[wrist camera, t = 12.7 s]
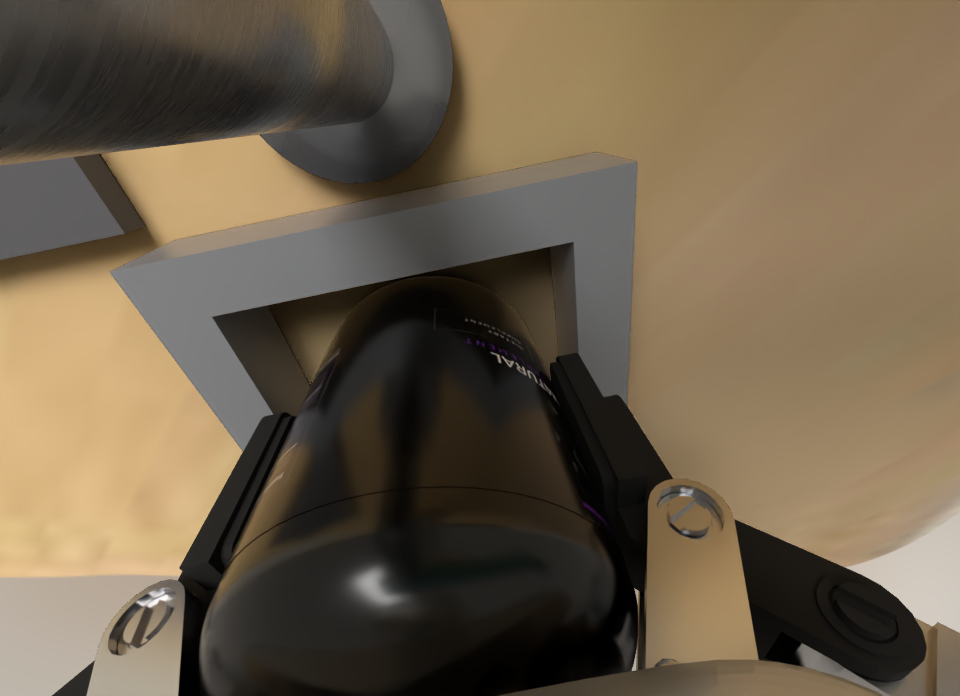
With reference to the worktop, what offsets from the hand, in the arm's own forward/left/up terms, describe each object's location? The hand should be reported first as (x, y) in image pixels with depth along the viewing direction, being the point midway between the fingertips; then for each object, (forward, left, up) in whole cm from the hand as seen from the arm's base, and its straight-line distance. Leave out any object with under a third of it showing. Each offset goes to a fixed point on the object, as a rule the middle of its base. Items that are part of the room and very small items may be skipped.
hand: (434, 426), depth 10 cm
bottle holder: (+1, 0, -4) cm, 4 cm away
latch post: (-8, 0, -4) cm, 9 cm away
